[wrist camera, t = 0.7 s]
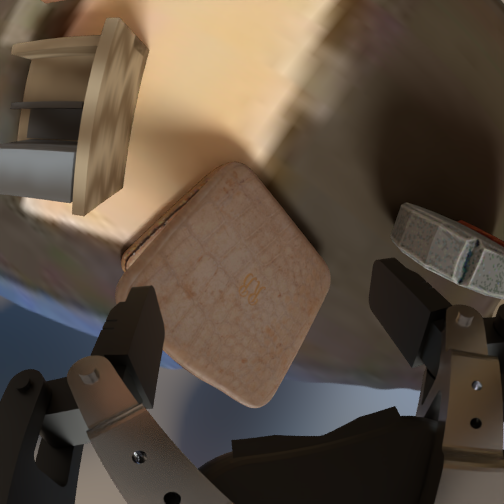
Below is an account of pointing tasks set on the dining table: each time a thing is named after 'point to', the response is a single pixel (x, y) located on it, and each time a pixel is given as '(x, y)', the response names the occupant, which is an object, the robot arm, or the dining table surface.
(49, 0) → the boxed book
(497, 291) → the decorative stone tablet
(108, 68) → the shelf
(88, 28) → the dining table surface
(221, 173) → the case
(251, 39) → the dining table surface
